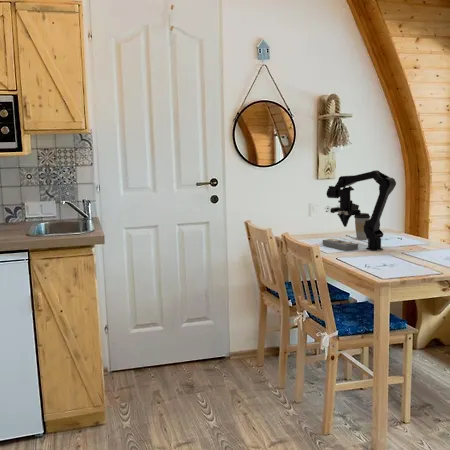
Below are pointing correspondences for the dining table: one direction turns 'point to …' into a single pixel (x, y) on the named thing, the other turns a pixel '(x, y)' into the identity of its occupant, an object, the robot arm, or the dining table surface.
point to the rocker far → (334, 240)
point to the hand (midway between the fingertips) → (345, 226)
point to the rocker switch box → (340, 245)
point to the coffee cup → (361, 225)
